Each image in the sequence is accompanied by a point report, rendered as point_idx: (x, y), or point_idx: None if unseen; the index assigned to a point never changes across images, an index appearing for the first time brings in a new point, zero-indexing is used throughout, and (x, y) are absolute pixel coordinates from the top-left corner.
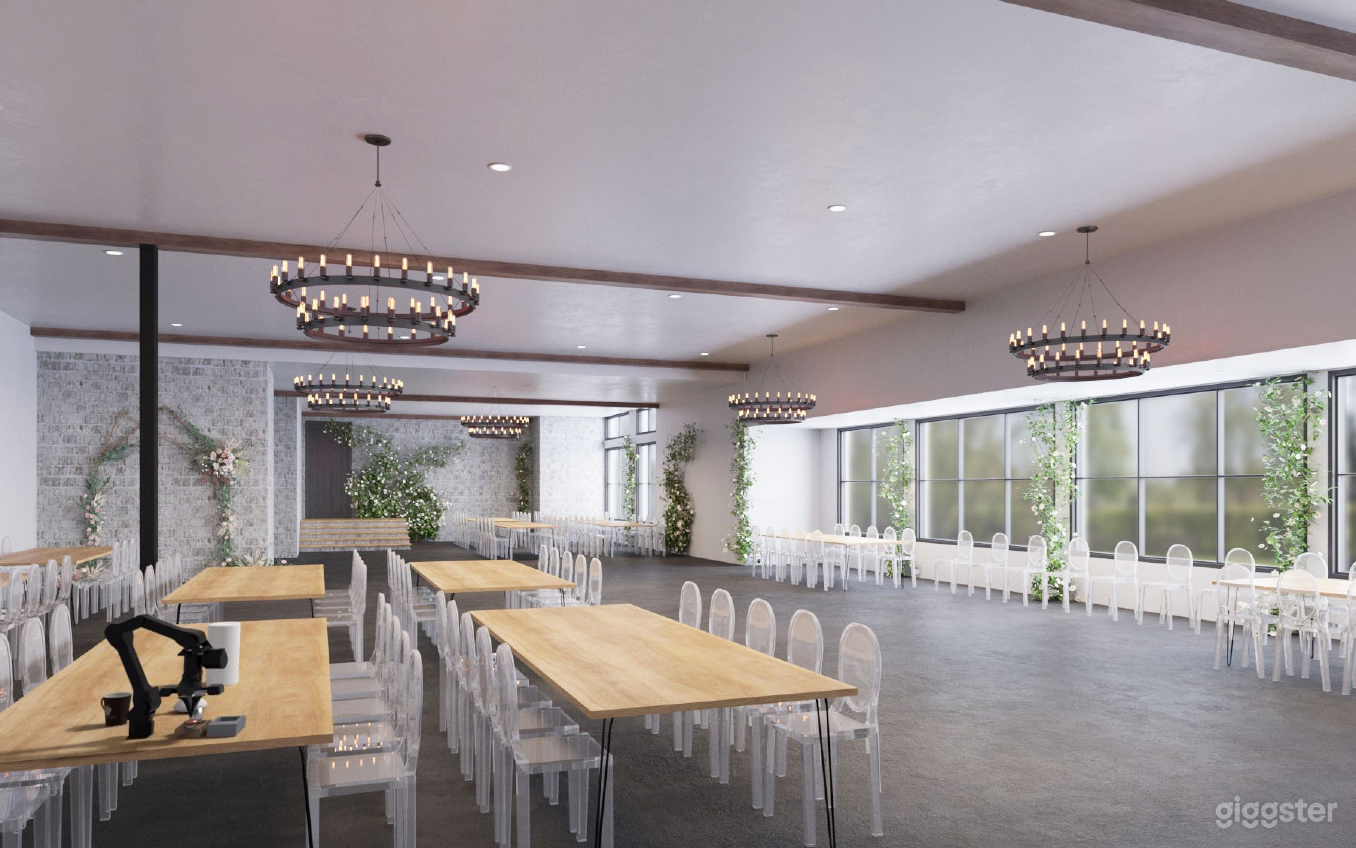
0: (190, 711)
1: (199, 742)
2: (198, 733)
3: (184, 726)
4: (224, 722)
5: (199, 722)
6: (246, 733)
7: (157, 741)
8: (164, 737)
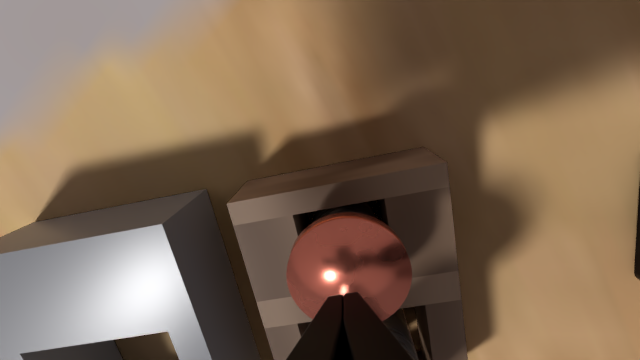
0: (346, 339)
1: (174, 52)
2: (252, 187)
3: None
4: (70, 307)
5: None
6: None
7: (521, 67)
8: (514, 183)
